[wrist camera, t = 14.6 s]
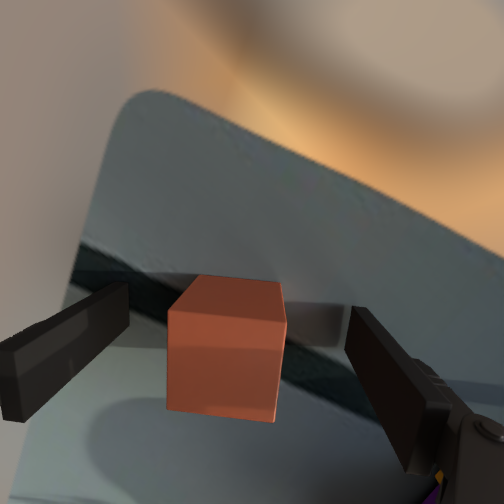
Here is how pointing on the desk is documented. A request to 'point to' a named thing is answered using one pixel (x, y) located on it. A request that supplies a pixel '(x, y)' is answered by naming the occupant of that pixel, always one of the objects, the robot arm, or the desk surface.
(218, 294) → the block
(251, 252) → the desk surface
